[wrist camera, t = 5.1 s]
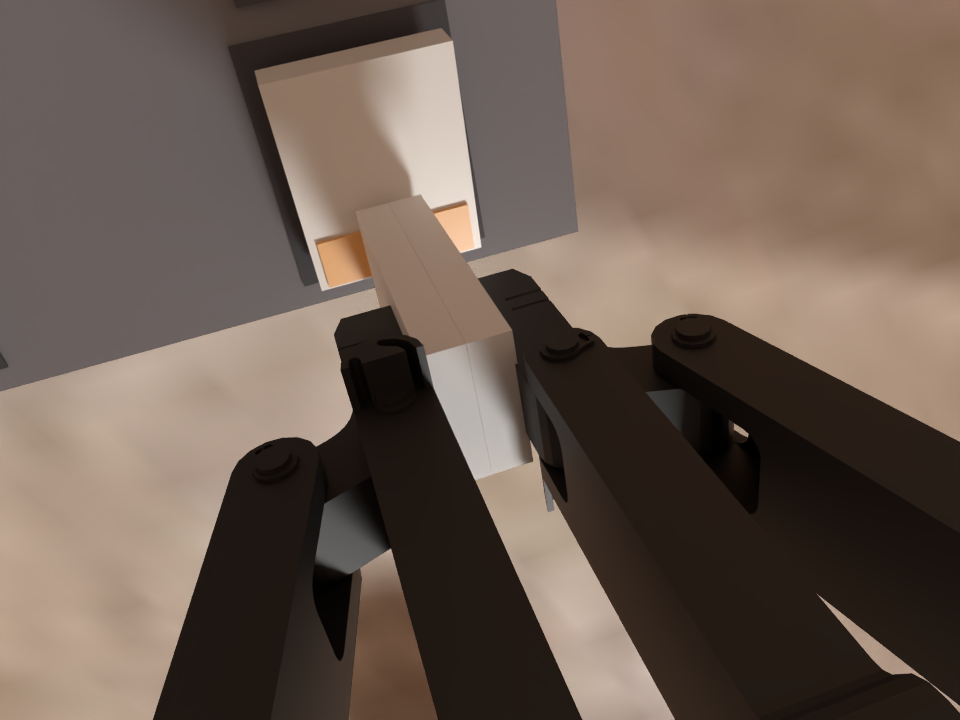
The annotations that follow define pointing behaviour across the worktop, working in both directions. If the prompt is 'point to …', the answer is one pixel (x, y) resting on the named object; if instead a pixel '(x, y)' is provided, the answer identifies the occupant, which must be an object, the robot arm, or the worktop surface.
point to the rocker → (371, 143)
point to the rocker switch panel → (223, 161)
